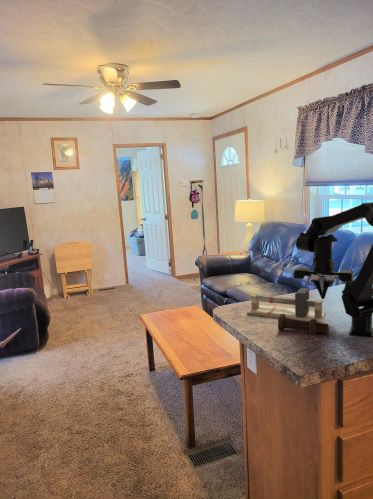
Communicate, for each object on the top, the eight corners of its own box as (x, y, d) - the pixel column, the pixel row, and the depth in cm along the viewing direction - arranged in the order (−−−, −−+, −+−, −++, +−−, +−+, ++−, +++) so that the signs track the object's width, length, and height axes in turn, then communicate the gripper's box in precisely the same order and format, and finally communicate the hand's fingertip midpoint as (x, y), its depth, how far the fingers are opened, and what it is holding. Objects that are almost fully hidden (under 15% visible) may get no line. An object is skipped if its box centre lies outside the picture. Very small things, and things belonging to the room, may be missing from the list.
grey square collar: (304, 317, 130) (304, 294, 129) (295, 316, 132) (295, 293, 130) (309, 310, 137) (309, 288, 136) (300, 309, 138) (300, 288, 137)
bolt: (327, 341, 116) (278, 334, 123) (329, 328, 120) (282, 322, 127) (327, 329, 113) (277, 322, 120) (329, 316, 116) (280, 310, 123)
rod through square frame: (320, 322, 127) (320, 305, 126) (247, 313, 140) (246, 297, 139) (325, 313, 135) (325, 296, 134) (256, 305, 148) (255, 290, 147)
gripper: (355, 250, 130) (355, 294, 132) (300, 249, 139) (301, 290, 141) (351, 256, 120) (351, 304, 123) (292, 254, 129) (293, 298, 132)
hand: (323, 298), depth 130 cm, fingers closed
